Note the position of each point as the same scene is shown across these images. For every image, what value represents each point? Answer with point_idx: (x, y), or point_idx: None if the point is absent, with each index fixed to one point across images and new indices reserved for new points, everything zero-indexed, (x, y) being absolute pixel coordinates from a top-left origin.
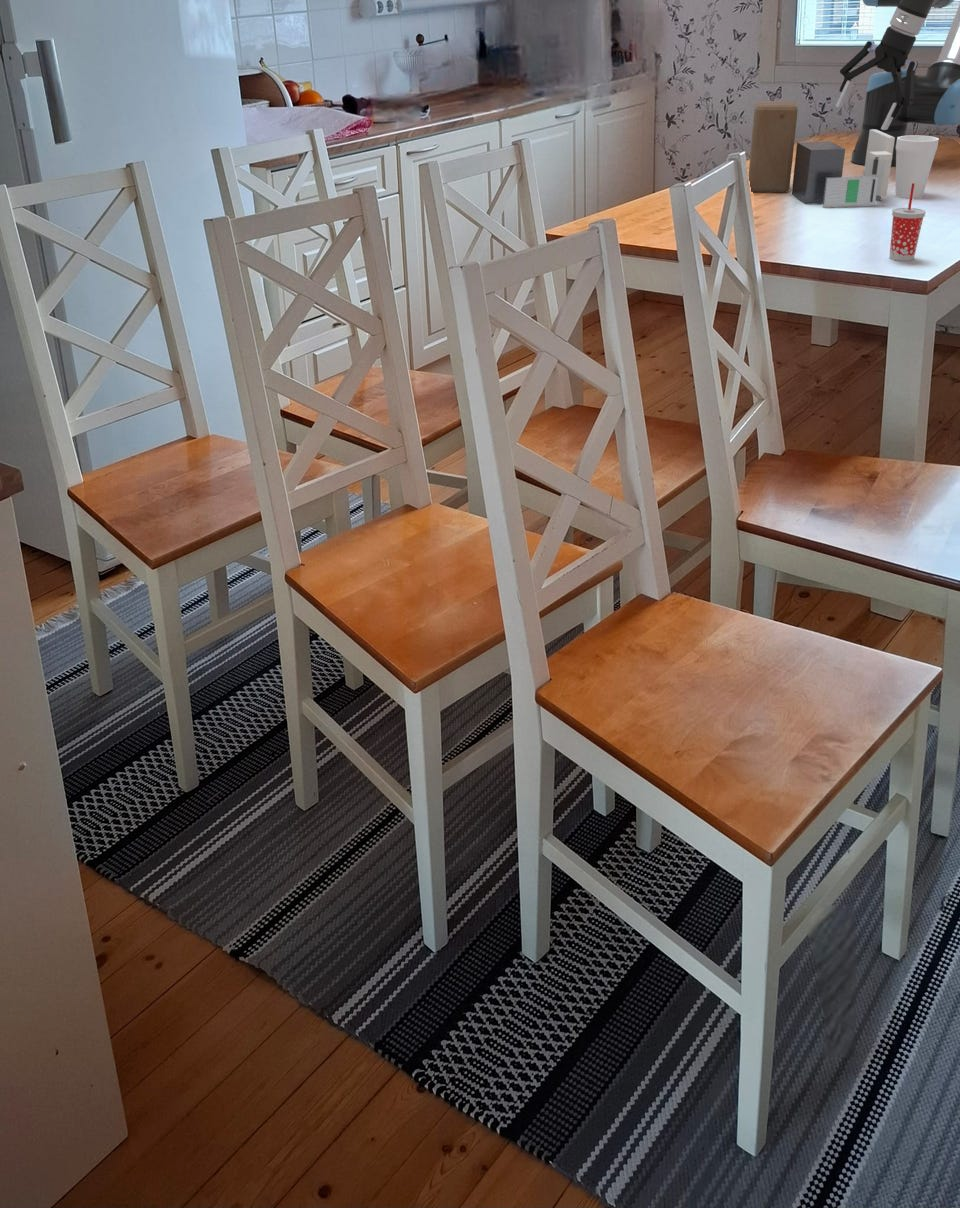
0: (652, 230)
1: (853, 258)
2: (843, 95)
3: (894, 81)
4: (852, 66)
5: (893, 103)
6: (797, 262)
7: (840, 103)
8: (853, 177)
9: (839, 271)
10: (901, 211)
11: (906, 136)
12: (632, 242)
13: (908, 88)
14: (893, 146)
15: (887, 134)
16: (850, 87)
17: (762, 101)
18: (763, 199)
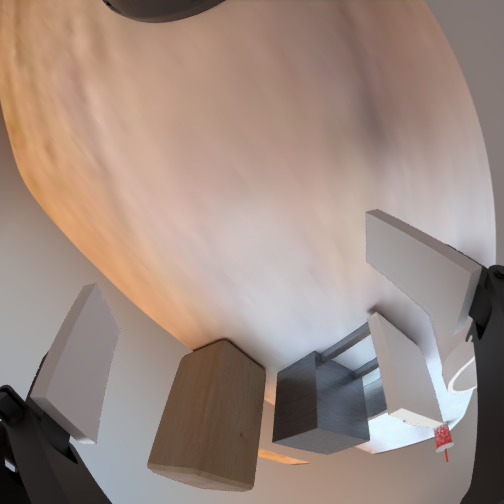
0: (274, 455)
1: (414, 436)
2: (107, 372)
3: (481, 452)
4: (29, 499)
5: (451, 332)
6: (387, 449)
7: (112, 333)
8: (387, 411)
9: (410, 444)
10: (441, 449)
11: (467, 365)
12: (285, 462)
13: None
14: (440, 411)
15: (431, 419)
16: (66, 371)
17: (163, 475)
18: (267, 398)
